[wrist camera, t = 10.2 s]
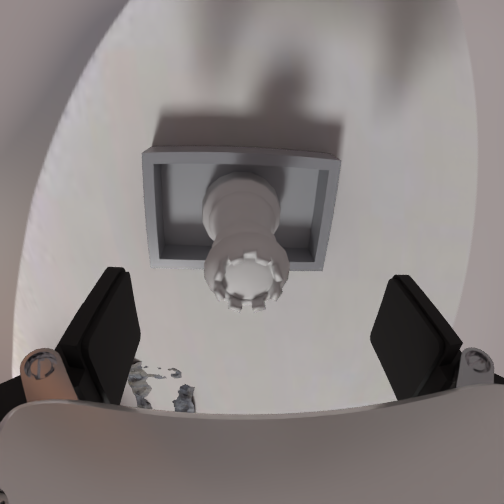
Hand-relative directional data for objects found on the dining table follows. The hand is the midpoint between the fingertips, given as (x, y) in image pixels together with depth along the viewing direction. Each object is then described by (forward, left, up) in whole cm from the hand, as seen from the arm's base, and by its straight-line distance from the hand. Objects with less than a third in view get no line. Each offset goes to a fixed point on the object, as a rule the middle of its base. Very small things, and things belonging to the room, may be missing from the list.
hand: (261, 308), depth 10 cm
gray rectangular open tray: (+1, -1, -9) cm, 9 cm away
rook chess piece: (0, -1, -9) cm, 9 cm away
